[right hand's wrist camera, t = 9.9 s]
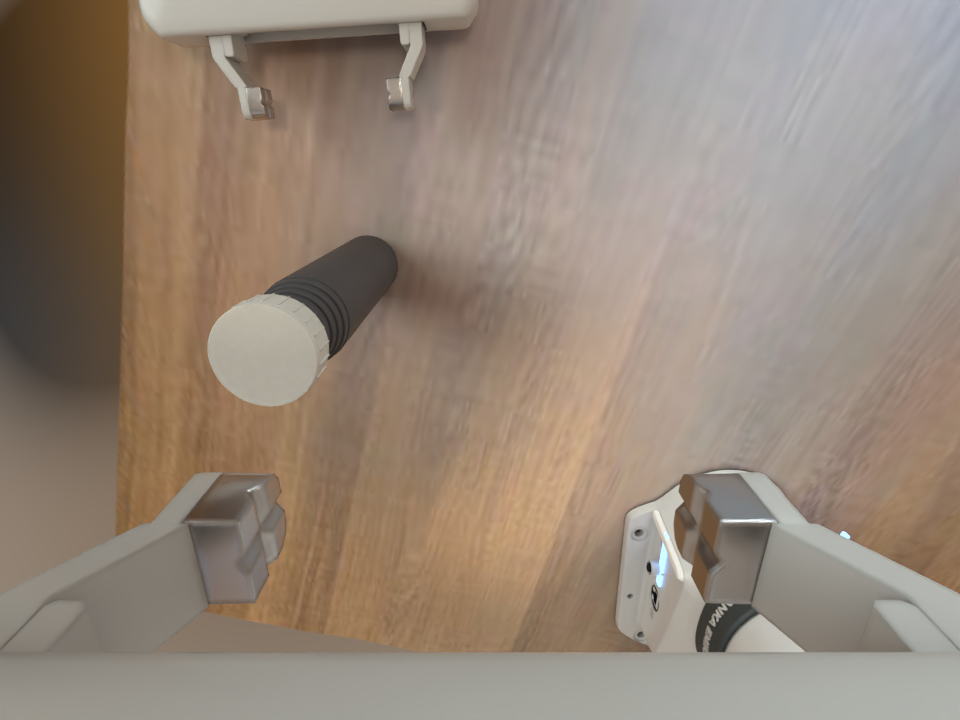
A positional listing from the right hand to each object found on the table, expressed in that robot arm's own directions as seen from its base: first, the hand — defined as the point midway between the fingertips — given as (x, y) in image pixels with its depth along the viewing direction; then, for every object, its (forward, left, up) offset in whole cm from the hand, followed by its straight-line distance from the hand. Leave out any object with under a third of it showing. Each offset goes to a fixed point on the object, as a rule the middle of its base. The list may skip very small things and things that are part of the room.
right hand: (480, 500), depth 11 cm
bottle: (-3, +9, -34) cm, 35 cm away
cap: (-3, +9, -12) cm, 15 cm away
